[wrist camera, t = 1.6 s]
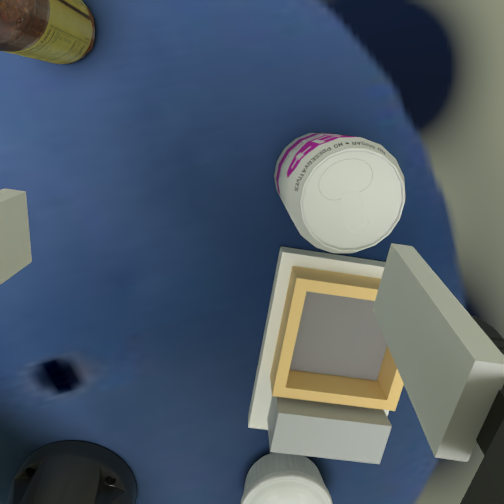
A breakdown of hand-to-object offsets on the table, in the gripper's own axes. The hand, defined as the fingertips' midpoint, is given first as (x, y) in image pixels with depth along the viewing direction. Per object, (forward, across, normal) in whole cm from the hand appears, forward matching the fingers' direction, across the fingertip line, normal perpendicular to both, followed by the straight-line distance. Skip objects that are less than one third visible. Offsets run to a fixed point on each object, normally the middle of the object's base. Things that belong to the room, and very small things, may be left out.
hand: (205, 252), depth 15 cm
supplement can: (+28, -7, +2) cm, 29 cm away
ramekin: (+25, -10, +41) cm, 49 cm away
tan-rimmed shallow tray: (+26, -12, +21) cm, 36 cm away
